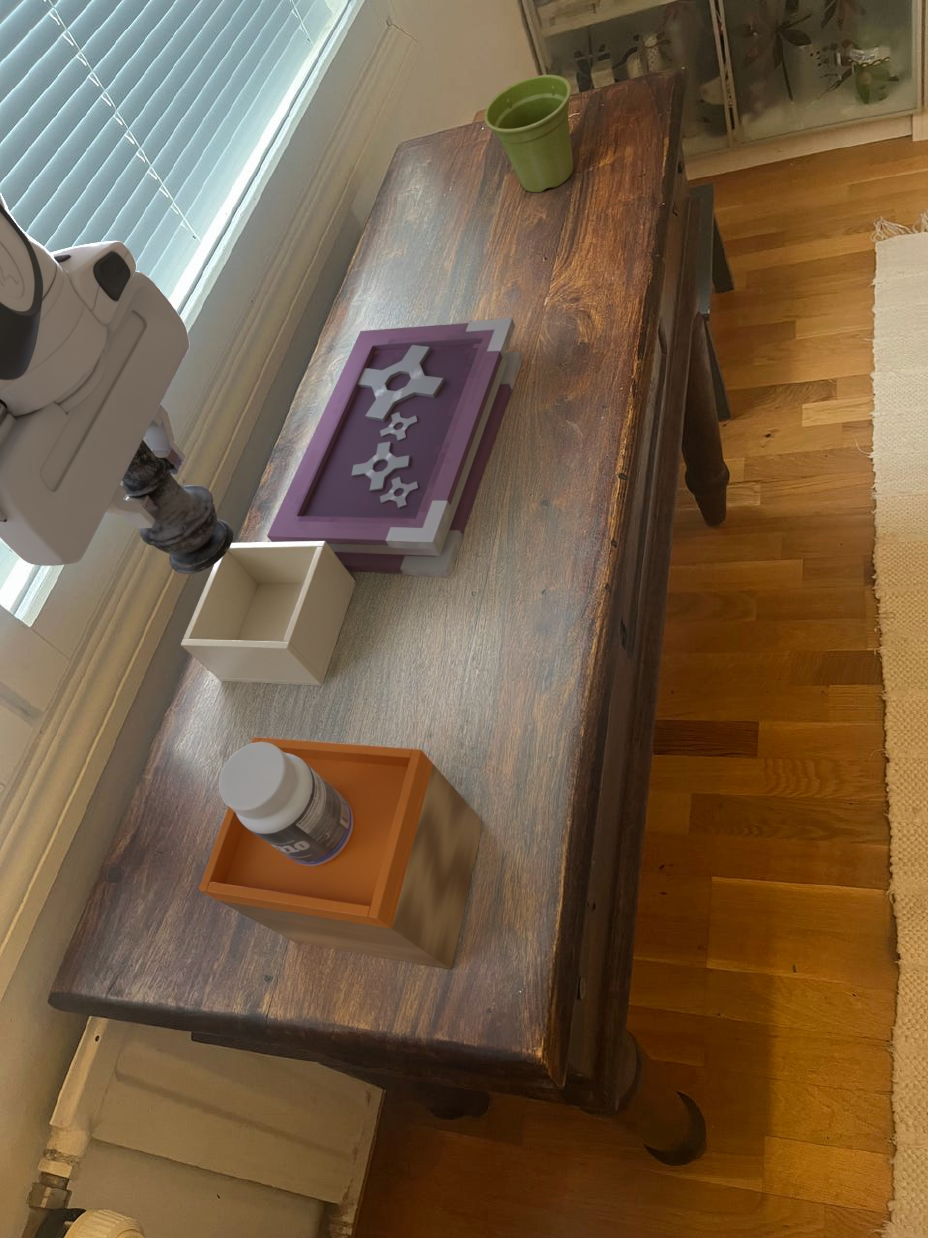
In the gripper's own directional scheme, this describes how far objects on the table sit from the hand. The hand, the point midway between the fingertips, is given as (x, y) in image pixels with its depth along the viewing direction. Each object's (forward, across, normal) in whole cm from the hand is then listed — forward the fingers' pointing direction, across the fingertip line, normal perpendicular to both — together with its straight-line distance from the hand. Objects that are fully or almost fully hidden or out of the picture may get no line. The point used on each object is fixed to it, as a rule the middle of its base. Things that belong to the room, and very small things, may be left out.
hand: (162, 492), depth 65 cm
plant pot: (+19, +60, -12) cm, 64 cm away
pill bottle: (+9, -20, -15) cm, 27 cm away
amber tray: (+9, -20, -15) cm, 27 cm away
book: (+19, +19, -7) cm, 28 cm away
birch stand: (+19, -20, -15) cm, 32 cm away
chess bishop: (+6, -1, 0) cm, 6 cm away
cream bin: (+19, 0, 0) cm, 19 cm away
